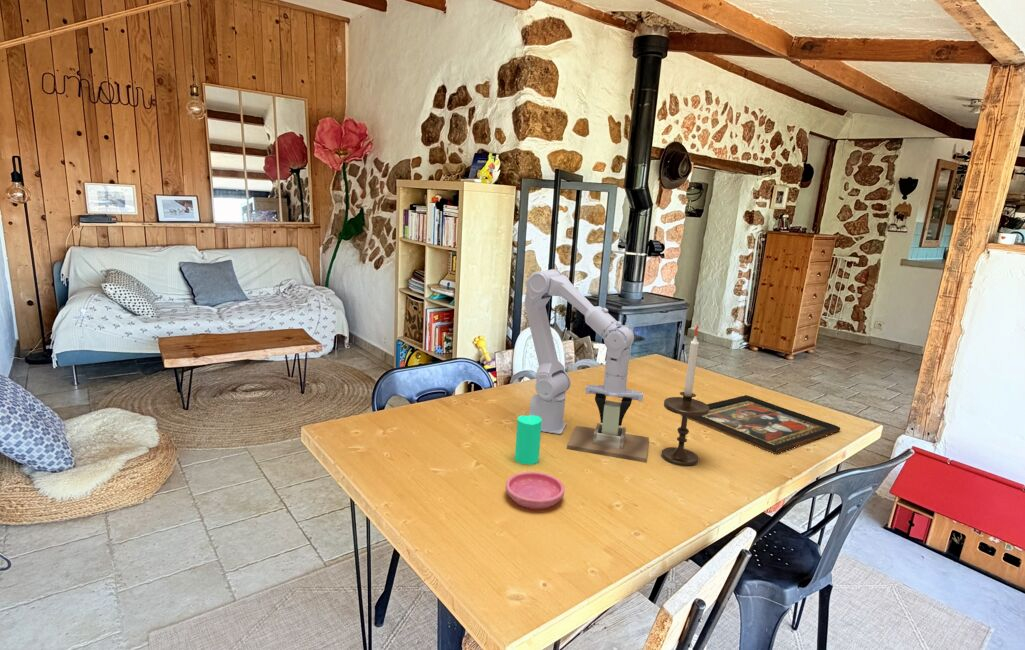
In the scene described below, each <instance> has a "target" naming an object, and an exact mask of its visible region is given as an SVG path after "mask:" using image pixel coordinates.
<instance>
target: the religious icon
mask: <svg viewBox="0 0 1025 650" xmlns="http://www.w3.org/2000/svg"><path fill="white" fill-rule="evenodd" d="M706 404H707V405H708V406H709V408H710V409H709V413H708V414H707V415H705V416H688V419H687V420H690V421H693V422H694V421H695V422H694V423H696V424H699V425H702V426H703V427H704V426H705V427H706V428H709V429H711V430H714V431H716V432H719V433H722V434H724V435H725V436H729V437H731V438H734V439H736V440H739V441H740V442H743V443H745V444H748V445H750V444H751V445H750V446H753V447H755V446H756V447H755V448H757V447H758V448H757V449H759V448H760V450H762V451H764V450H765V452H767V451H768V453H769V452H771V453H770V454H772V453H773V455H775V454H776V455H779V454H778V453H780V454H782V453H784V452H783V451H785V452H787V451H786V450H788V451H790V450H789V449H791V450H793V449H795V448H794V447H796V446H799V445H801V446H803V445H802V444H804V445H806V444H805V443H807V442H809V443H811V442H810V441H812V440H815V439H817V440H819V439H818V438H820V437H823V436H825V437H827V436H826V435H828V436H830V435H829V434H831V433H834V432H836V433H839V432H840V430H841V427H840V426H837V425H836V424H833V423H830V422H826V421H823V420H821V419H818V418H814V417H812V416H809V415H806V414H802V413H799V412H796V411H793V410H791V409H787V408H784V407H782V406H779V405H777V404H774V403H770V402H768V401H765V400H762V399H760V398H757V397H753V396H750V395H747V394H746V395H740V396H737V397H733V398H729V399H724V400H719V401H716V402H710V403H706ZM838 431H839V432H838ZM834 434H835V433H834ZM831 435H832V434H831ZM823 438H824V437H823ZM820 439H821V438H820ZM815 441H816V440H815ZM812 442H813V441H812ZM807 444H808V443H807ZM799 447H800V446H799ZM792 448H793V449H792ZM796 448H797V447H796ZM781 452H782V453H781Z"/></svg>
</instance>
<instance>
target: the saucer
mask: <svg viewBox="0 0 1025 650" xmlns="http://www.w3.org/2000/svg"><path fill="white" fill-rule="evenodd" d="M505 482H506V483H505V491H506V493H507V495H508V496H509V498H511V499H512V500H513V502H515V504H516V505H518V504H519V505H518V506H520V507H522V508H524V507H526V508H525V509H528V508H529V509H528V510H544V509H545V508H546V509H550V508H551V506H552V507H553V506H554V505H556V504H558V502H560V500H562V499H563V498H564V495H565V485H564V484H563V482H562V481H561V480H560V479H559V478H557V477H556V476H553V475H552V474H548V473H545V472H541V471H523V472H517V473H515V474H513V475H511V476H509V477H508V478H507V480H506V481H505Z"/></svg>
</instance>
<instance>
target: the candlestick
mask: <svg viewBox="0 0 1025 650" xmlns="http://www.w3.org/2000/svg"><path fill="white" fill-rule="evenodd" d="M698 331H699V325H698V323H697V324H696V327H695V329H694V331H693V333H694V337H693V339H692V340H690V346H689V353H688V358H687V359H688V361H687V368H686V369H687V370H686V375H685V376H686V377H685V384H684V390H683V391H680V392H679V395H681V396H672V397H668V398H667V397H666V398H665V399H664V401H663V407H664V409H666V410H667V411H669V412H671V413H674V414H676V415H677V414H678V415H680V416H681V423H680V427H677V430H676V431H677V433H678V437H676V441H678V444H677V445H678V446H677V447H675V446H673V447H672V446H671V447H670V446H669V447H665V448H663V449H662V450H661V454H660V456H661V458H662V459H663V460H664V461H666V462H667V463H669V464H671V465H675V466H681V467H693V466H696V465H697V464H698V463H699V456H698V454H696V453H695V452H693V451H691V450H690V449H686V448H685V443H686V442H688V439H687V438H686V436H687V435H688V434H689V433H690V431H689V429H688V427H687V425H688V420H689V419H688V416H705V415H707V414H708V413H709V409H710V408H709V406H708V405H707V404H708V403H705V402H703V401H700V400H699V399H698V400H697V399H694V398H696V397H697V394H695V393H693V389H694V381H695V380H694V379H695V375H696V374H695V373H696V366H697V359H698V351H699V344H700V343H699V341H698Z"/></svg>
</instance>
